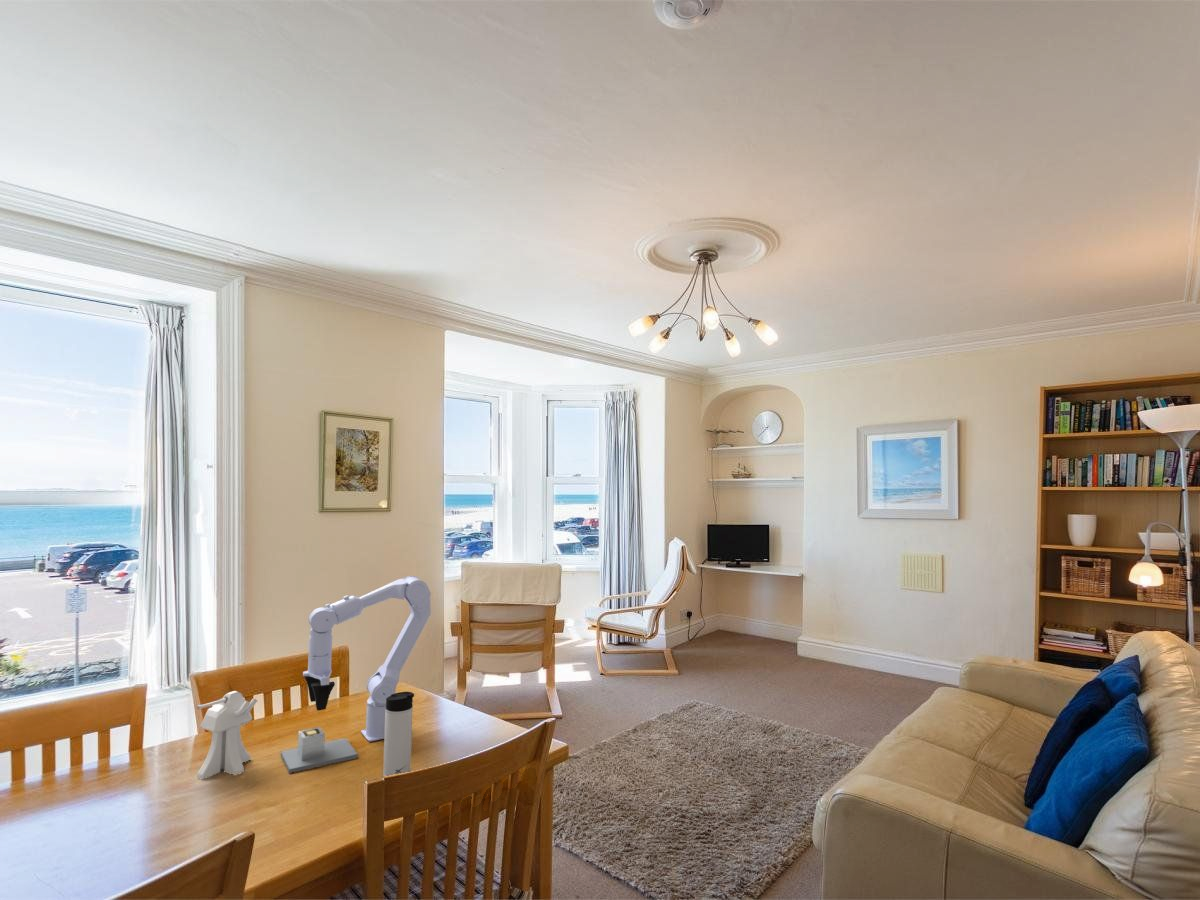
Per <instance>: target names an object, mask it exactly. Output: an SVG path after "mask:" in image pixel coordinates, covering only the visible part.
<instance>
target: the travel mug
mask: <svg viewBox="0 0 1200 900" xmlns="http://www.w3.org/2000/svg"><path fill="white" fill-rule="evenodd" d="M414 697H415V693H413V692H412V691H400V692H395V694H392V695H391V696H389V697H387V698H386V711H385V737H384V743H383V744H384V745H383V766H382V767H383V768H382V769H383V772H382V778H383V777H384V776H389V775H393V774H399V773H405V772H410V773H411V766H412V765H411V763H412V735H413V707H414V706H413V698H414Z"/></svg>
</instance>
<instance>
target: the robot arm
mask: <svg viewBox="0 0 1200 900" xmlns="http://www.w3.org/2000/svg"><path fill="white" fill-rule="evenodd" d="M431 595H432V593H431V590H430V588H429V586H428V584H427V583H426V582H425V581H423V580H421V579H420V578H419V577H417V576H415V575H408V576H406V577H404V578H399V579H396V580H394V581H392V582H389V583H387V584H386V585H384V586H381V587H379V588H377V589H376V588H375V589H374V590H372V591H370V592H368V593H366V594H363V595H362V596H359V597H358V596H355V595H350V596H349V594H348V595H345V596H342V599H340V600H338V601H335V602H333V603H331V604H330V603H327V604H325V607H318V608H315V609H313V610H312V612H311V613H310V614H309V616H308V623H309V626H310V628H309V629H310V630H309V636H308V637H309V638H308V654H307V655H308V661H307V670H305V671H302V675H303V677H304V680H305V683H306V684H307V688H308V695H309V700H310V702H311V703H313V702H315V708H316V711H323V710H326V709H327V706H328V703H329V698H330V695H331V693H332V692H333V691H332V690H333V688H334V687H335V685H336V682H334V681H330V680H331V679H330V677H331V674H332V672H333V671H332V654H333V653H332V652H333V651H332V650H333V649H332V648H333V635H332V632H333V631H332V629H333V628H334V626H335V625H338V624H342V623H344V622H346V621H349V620H351V619H354V618H355V617H358V616H360V615H361V613H362V611H363V610H364V609H365V608H368V607H371V606H375V605H376V604H379V603H382V602H384V601H387V600H389V599H397V600H398V599H399V600H406V601H407V604H408V607H409V609H410V614H409V616H408V617H407V620H406V621H405V623H404V625H403V627H402V629H401V631H400V632H399V634H398V637H397V638H396V640H395V642H394V644H393V646H392V647H391V649H390V651H389V653H388V655H387V656H386V659H385V661H384V662H383V664H381V665H380V666H379V667H378V668H377V670H376V672H375V673H374V674H373V675H372V676H371V677H369V679H368V681H367V682H366V691H367V692H368V693H369V696H368V698H367V700H366V717H365V718H366V719H365V720H366V721H365V723H366V724H365V729H362V730H360V733H361V734H362V735H363V737H365V740H366V741H368V742H369V743H370V742H375V741H378V740H379V741H380V740H383V739H384V737H385V711H386V698H387V697H389V696H391V695H392V694H395V693H396V689H397V686H398V684H399V681H400V674H401V671H402V669H403V668H404V665H405V664H406V661H407V660H408V658H409V657H410V654H411V652H412V650H413V648H414V646H415V644H416V643H417V641H418V638H419V637H420V635H421V633H422V631H423V629H424V628H425V625H426V624H427V621H428V620H429V618H430V616H431V614H432V613H431V612H432V611H431Z"/></svg>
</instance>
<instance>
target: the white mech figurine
mask: <svg viewBox="0 0 1200 900" xmlns="http://www.w3.org/2000/svg"><path fill="white" fill-rule="evenodd" d="M257 702H258V699H255V698H252V699H251V700H250V701H248V700H246V699H245V697H243V693H242V692H239V691H237V690H233V691H230V692H227V693H225V694H224V695H223V696H222V698H220V699H218V700H215V701H212V702H208V703H204V704H197V706H196V709H197V710H202V709H204V708H205V709H206V708H207V711H206V713H205V714H204V717H203V720H202V721H201V723H200V725H199V727H200V728H201V729H203V730H206V731H208V732H211V733H212V734H211V735H212V736H211V743H210V747H209V749H208V752H207V754H206V757H205V760H204V762H203V763H202V765H201V767H200V768H199V770H198V772H197V775H196V777H198V779H199V778H201V779H200V780H205V779H207V778H206V777H208V776H210V777H212V776H211V775H213V774H215V775H217V774H216V773H218V772H220V773H225V772H227V773H226V774H228V773H229V775H231V774H233V775H237V774H239V773H242V772H243V773H244V772H245V768H244V765H243V764H244V763H243V762H245V761H248V760H250V759H252V758H251V757H252V756H251V754H250V753H249V752H248V751H247V749H246V748H245V746H244V744H243V740H242V738H241V726H243V725H246V724H249V723H250V722H251V720H252V719H253V716H252V713H251V711H252V710H253V708H254V706H255V705H256V703H257ZM211 706H212V707H211ZM208 707H209V708H208ZM250 761H251V760H250ZM248 762H249V761H248ZM242 763H243V764H242ZM245 763H246V762H245ZM224 771H225V772H224ZM243 773H242V774H243ZM218 774H219V773H218ZM233 775H232V776H233ZM239 775H240V774H239ZM213 776H214V775H213ZM237 776H238V775H237ZM204 778H205V779H204ZM208 778H209V777H208Z"/></svg>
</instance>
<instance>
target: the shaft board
mask: <svg viewBox="0 0 1200 900" xmlns="http://www.w3.org/2000/svg"><path fill="white" fill-rule="evenodd" d="M315 734H317V732H316V731H315V730H314V731H309V732H307V736H310V735H315ZM297 750H298V747H294V748H291V749H290V748H289V749H285V750H281V751H280V757H281V760H282V762H283V764H284V763H285V764H284V765H286V766H285V767H287V768H286V770H287V773H288V774H293V773H292V772H294V773H298V772H302V771H306V770H305V769H307V770H310V769H309V768H311V769H315V768H314V767H316V768H318V766H320V767H323V766H322V765H324V766H328V765H327V764H329V765H332V763H333V764H337V763H336V762H338V763H342V762H345V761H350V760H354V759H358V758H359V757H358V755H359V754H358V751H356V750H355V748H354V746H352V744H351V743H350V741H349V740H348V739H347V738H346V737H344V738H339V739H335V740H329V741H325V743H324V756H320V757H316V758H312V759H307V760H303V761H302V760H301V758H300V757H299V755H298V753H297ZM341 761H342V762H341ZM301 770H302V771H301ZM297 771H298V772H297Z"/></svg>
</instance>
